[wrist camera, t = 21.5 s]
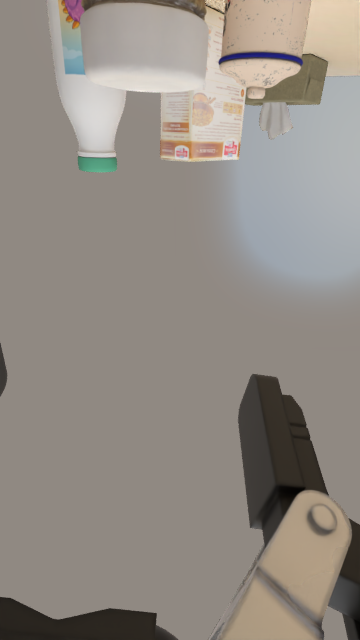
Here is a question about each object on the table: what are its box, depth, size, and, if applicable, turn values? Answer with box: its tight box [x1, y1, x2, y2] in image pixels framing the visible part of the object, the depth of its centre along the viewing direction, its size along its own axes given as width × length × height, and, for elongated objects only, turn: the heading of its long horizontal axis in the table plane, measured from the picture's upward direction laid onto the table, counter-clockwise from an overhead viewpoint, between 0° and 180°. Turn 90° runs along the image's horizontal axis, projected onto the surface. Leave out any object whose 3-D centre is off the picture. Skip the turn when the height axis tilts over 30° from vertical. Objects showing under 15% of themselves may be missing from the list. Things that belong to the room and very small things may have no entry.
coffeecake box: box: [160, 6, 247, 162], centre depth 56 cm, size 15×7×20 cm, turn 40°
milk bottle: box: [46, 0, 126, 172], centre depth 37 cm, size 8×8×20 cm
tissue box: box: [245, 54, 328, 139], centre depth 82 cm, size 19×10×16 cm, turn 131°
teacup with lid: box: [218, 0, 311, 99], centre depth 37 cm, size 12×9×12 cm
